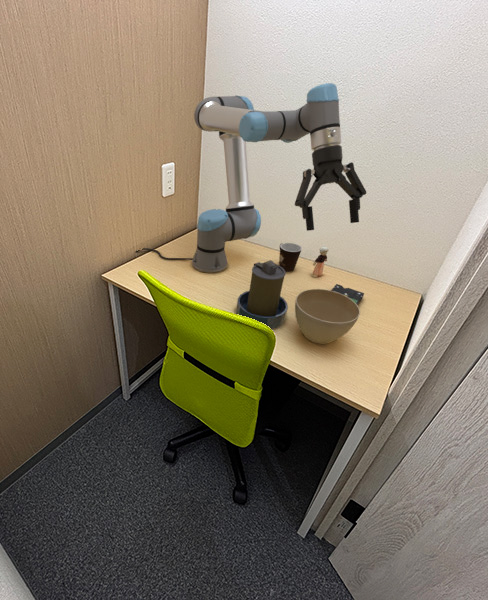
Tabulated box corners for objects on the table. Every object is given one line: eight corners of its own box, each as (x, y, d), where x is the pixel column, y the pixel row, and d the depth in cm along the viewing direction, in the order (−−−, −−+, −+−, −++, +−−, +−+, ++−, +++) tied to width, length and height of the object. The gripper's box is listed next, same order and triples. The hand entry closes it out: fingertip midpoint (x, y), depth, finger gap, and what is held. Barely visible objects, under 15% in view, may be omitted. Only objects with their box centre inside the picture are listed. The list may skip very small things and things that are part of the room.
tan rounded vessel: (357, 335, 107) (369, 304, 101) (332, 364, 97) (344, 331, 90) (305, 311, 118) (313, 282, 111) (277, 335, 107) (284, 304, 101)
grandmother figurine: (316, 279, 136) (324, 251, 129) (308, 276, 138) (315, 248, 131) (326, 273, 140) (334, 245, 133) (317, 270, 143) (325, 242, 135)
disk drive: (334, 289, 130) (320, 306, 121) (336, 283, 129) (322, 299, 119) (362, 299, 125) (350, 317, 115) (364, 292, 123) (353, 310, 114)
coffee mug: (297, 274, 140) (302, 252, 134) (276, 272, 141) (280, 250, 135) (295, 261, 149) (300, 240, 143) (275, 259, 150) (279, 239, 145)
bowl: (229, 320, 114) (230, 308, 111) (244, 296, 126) (246, 285, 123) (278, 335, 107) (281, 323, 104) (289, 308, 119) (292, 297, 117)
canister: (282, 317, 115) (294, 265, 104) (260, 327, 110) (270, 274, 99) (260, 301, 122) (268, 252, 111) (238, 310, 118) (245, 260, 107)
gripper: (289, 150, 87) (298, 232, 91) (377, 137, 89) (382, 218, 93) (277, 158, 94) (285, 234, 98) (359, 146, 97) (364, 220, 101)
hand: (332, 226), depth 96 cm, fingers open, 13 cm apart
